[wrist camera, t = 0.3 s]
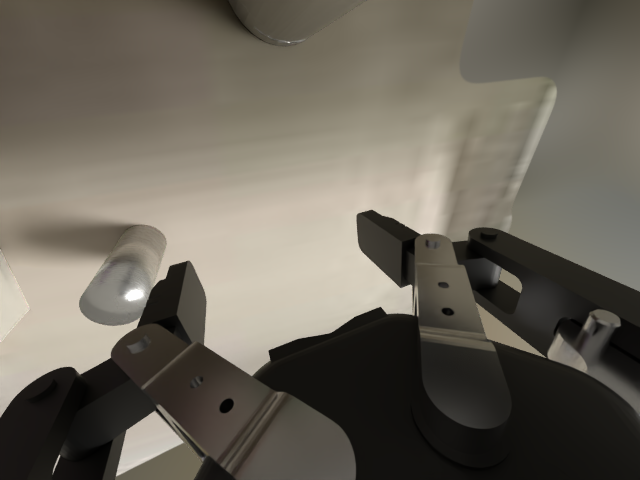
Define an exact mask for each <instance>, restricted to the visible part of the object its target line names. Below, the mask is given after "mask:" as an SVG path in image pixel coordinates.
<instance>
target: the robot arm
mask: <svg viewBox="0 0 640 480" xmlns="http://www.w3.org/2000/svg"><path fill="white" fill-rule="evenodd" d="M228 1H229V3H230V5H231V7H232V9H233V11H234V12H235V14H236V15H237V17H238V18H239V19H240V21H241V22H242V23H243V25H244V26H245V27H246V28H247V29H248V30H249V31H251V32H252V33H253V34H254V35H255V36H257V37H258V38H260V39H261V40H263V41H265V42H267V43H270V44H273V45H277V46H291V45H296V44H298V43H300V42H302V41H304V40H306V39H308V38H309V37H311V36H312V35H314V34H315V33H317V32H319V31H320V30H322V29H324V28H325V27H327V26H328V25H330V24H331V23H333V22H334V21H336V20H337V19H339V18H340V17H342V16H344V15H345V14H347V13H348V12H350V11H351V10H353V9H354V8H356V7H357V6H359V5H360V4H362V3H364V2H365V1H367V0H228ZM357 233H358V243H359V247H360V249H361V251H362V252H363V253H364V254H365V255H366V256H367V257H368V258H369V259H370V260H371V261H372V262H374V263H375V264H376V265H377V266H378V267H379V268H380V269H381V270H382V271H383V272H384V273H385V274H386V275H387V276H388V277H390V278H391V279H392V280H393V281H394V282H395V283H396V284H397V285H398V286H399V287H400V288H402V287H405V286H407V285H410V284H411V285H412V315H409V314H386V313H385V311H384V310H383V309H382V308H381V307H379V308H376V309H374V310H371V311H369V312H366V313H364V314H361V315H358V316H356V317H354V318H353V319H351V320H350V321H348V322H347V323H345V324H344V325H342V326H341V327H340V328H338V329H337V330H335V331H334V332H332V333H329V334H324V335H318V336H312V337H306V338H300V339H297V340H294V341H292V342H289V343H286V344H284V345H281V346H279V347H276V348H274V349H271V350H268V351H269V355H270V360H271V361H269V362H268V363H266V364H265V365H264V366H262V367H261V368H260V369H259V370H258V371H257V372H256V373H255V374H254V375H253V376H250V375H249V374H247V373H246V372H244V371H243V370H241V369H240V368H238V367H236V366H235V365H233V364H232V363H230V362H229V361H227V360H226V359H224V358H222V357H221V356H219V355H218V354H216V353H215V352H213V351H212V350H210V349H208V348H207V347H205V346H204V334H205V317H206V296H205V292H204V289H203V287H202V285H201V283H200V280H199V278H198V276H197V274H196V272H195V269H194V267H193V265H192V263H191V262H190V261H186V262H182V263H179V264H175V265H172V266H170V267H169V270H168V273H167V276H166V279H164V280H160V281H159V282H158V283H157V284H156V285H155V286H154V287H153V288H152V290H151V292H150V295H149V297H148V299H149V300H147V302H146V307H145V308H144V310H143V313H142V316H141V318H140V321H139V323H138V326H137V328H136V329H134V330H132V331H131V332H129V333H127V334H126V335H125V336H123V337H122V338H121V339H120V340H119V341H118V342H117V343H116V345H115V346H114V347H113V349H112V352H111V358H110V359H108V360H107V361H105V362H103V363H101V364H99V365H97V366H96V367H94V368H92V369H90V370H88V371H86V372H85V373H83V374H81V375H80V374H79V373H78V372H77V371H76V370H75V369H74V368H72V367H63V368H59V369H56V370H53V371H51V372H49V373H47V374H45V375H43V376H41V377H40V378H38V379H36V380H35V381H33V382H32V383H31V384H29V385H28V386H27V387H25V388H24V389H23V390H22V391H21V392H20V393H19V394H18V395H17V396H16V397H15V398H14V399H13V400H12V401H11V403H10V404H9V406H8V407H7V409H6V410H5V412H4V413H3V415H2V416H1V418H0V480H115V477H116V472H117V468H118V464H119V460H120V455H121V451H122V447H123V442H124V438H125V434H126V430H127V429H129V428H130V427H132V426H133V425H135V424H136V423H137V422H139V421H140V420H142V419H143V418H145V417H146V416H148V415H149V414H151V413H152V412H154V411H155V412H156V413H157V414H158V415H159V416H160V417H161V418H162V420H163V421H164V422H165V423H166V424H167V425H168V426H169V427H170V428H171V429H172V430H173V431H174V432H175V433H176V434H177V435H178V436H179V437H180V438H181V440H182V441H183V442H184V443H185V444H186V445H187V446H188V447H189V448H190V449H191V450H192V452H193V453H194V454H195V455H196V456H197V457H198V459H199V460H200V461H201V462H202V465H201V467H200V469H199V471H198V473H197V475H196V477H195V479H194V480H640V292H639V291H637V290H634V289H632V288H630V287H628V286H625V285H623V284H621V283H619V282H616V281H614V280H612V279H609V278H607V277H605V276H603V275H601V274H598V273H596V272H594V271H591V270H589V269H587V268H584V267H582V266H580V265H578V264H575V263H573V262H571V261H569V260H566V259H564V258H562V257H560V256H558V255H555V254H553V253H551V252H549V251H546V250H544V249H542V248H540V247H537V246H535V245H533V244H530V243H528V242H526V241H524V240H521V239H519V238H517V237H515V236H512V235H510V234H508V233H506V232H503V231H501V230H498V229H494V228H484V227H483V228H475V229H472V230H471V231H469V235H468V241H459V242H451V240H450V239H449V238H447V237H445V236H443V235H439V234H423V235H420V234H419V233H417V232H415V231H414V230H412V229H410V228H408V227H407V226H406V227H405V225H403V224H402V223H400V222H398V221H396V220H395V219H393V218H389V217H385V216H382V215H380V214H378V213H377V212H375V211H373V210H369V211H366V212H362V213H358V214H357ZM502 268H503V269H505V270H506V271H508V272H510V273H511V274H513V275H515V276H516V277H517V278H518V279H519V280H520V281H521V283H522V291H521V293H519V292H517V291H516V290H514V289H513V288H511V287H510V286H508V285H506V284H505V283H503V282H502V281H500V280H499V277H500V274H501V270H502ZM476 303H478V304H479V305H480V306H481V307H483V308H484V309H485V310H487V311H488V312H489V313H490V314H492V315H493V316H494V317H495V318H497V319H498V320H499V321H501V322H502V323H503V324H504V325H506V326H507V327H508V328H510V329H511V330H512V331H513V332H515V333H516V334H517V335H518V336H520V337H521V338H522V339H523V340H525V341H526V342H527V343H529V344H530V345H531V346H532V347H534V348H535V349H536V350H537V351H539V352H540V353H541V354H542V355H544V356H545V357H546V358H544V357H541V356H538V355H535V354H532V353H529V352H526V351H522V350H519V349H516V348H513V347H510V346H507V345H504V344H501V343H498V342H495V341H492V340H489V339H487V337H486V335H485V332H484V328H483V325H482V322H481V318H480V315H479V312H478V308H477V305H476ZM547 358H548V359H547ZM59 455H61V456H60V458H59V461H58V463H57V466H56V468H55V471H54V473H53V468H54V465H55V463H56V461H57V458H58V456H59ZM52 473H53V475H52Z"/></svg>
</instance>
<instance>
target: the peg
mask: <svg viewBox="0 0 640 480" xmlns="http://www.w3.org/2000/svg"><path fill="white" fill-rule="evenodd" d="M165 248H166V238H165V236H164V235H163V234H162V232H160V231H159V230H158V229H156V228H154V227H151V226H148V225H136V226H133V227H130V228H129V229H127V230H126V231H125V232H124V233H123V235H122V236H121V238H120V239H119V241H118V242H117V244H116V245H115V247H114V248H113V250H112V251H111V253H110V254H109V256H108V257H107V259H106V260H105V262H104V263H103V265H102V266H101V268H100V269H99V271H98V272H97V274H96V275H95V277H94V278H93V280H92V281H91V283H90V284H89V286H88V287H87V289H86V290H85V292H84V293H83V295H82V296H81V298H80V301H79V307H80V310H81V312H82V313H83V315H85V316H86V317H87V318H88V319H90V320H91V321H93V322H96V323H99V324H103V325H111V326H116V325H124V324H128V323H131V322H133V321H135V320H137V319H138V318H140V317H141V316H142V313H143V310H144V308H145V307H146V302H147V300H149V299H148V297H149V295H150V292H151V290H152V288H153V286H154V283H155V280H156V277H157V273H158V270H159V267H160V264H161V261H162V258H163V255H164V251H165Z"/></svg>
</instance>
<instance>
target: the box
mask: <svg viewBox="0 0 640 480" xmlns="http://www.w3.org/2000/svg"><path fill="white" fill-rule="evenodd" d="M29 309H30V307H29V305H28V303H27V301H26V299H25V297H24V295H23V293H22V291H21V289H20V287H19V285H18V283H17V281H16V279H15V277H14V275H13V273H12V271H11V269H10V267H9V265H8V263H7V261H6V259H5V257H4V255H3V253H2V251H1V249H0V343H1V341H2V340H3V339H4V338H5V337H6V336H7V335H8V333H9V332H10V331H11V330H12V329H13V328H14V327H15V325H16V324H17V323H18V322H19V321H20V320H21V319H22V317H23V316H24V315H25V314H26V313H27V312H28V310H29Z"/></svg>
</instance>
